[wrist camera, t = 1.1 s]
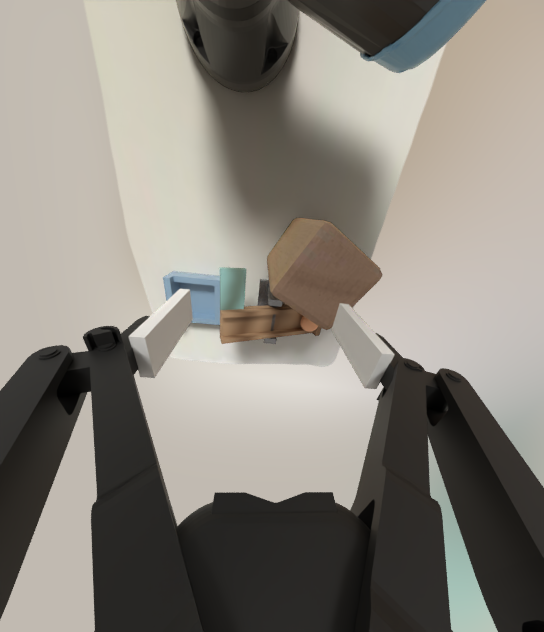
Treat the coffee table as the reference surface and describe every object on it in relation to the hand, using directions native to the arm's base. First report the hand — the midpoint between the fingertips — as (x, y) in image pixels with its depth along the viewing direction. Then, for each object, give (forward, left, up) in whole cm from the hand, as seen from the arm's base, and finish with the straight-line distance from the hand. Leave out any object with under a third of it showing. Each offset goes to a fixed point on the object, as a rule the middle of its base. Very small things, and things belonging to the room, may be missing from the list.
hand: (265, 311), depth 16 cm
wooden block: (-1, +7, -26) cm, 27 cm away
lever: (+8, +3, -19) cm, 20 cm away
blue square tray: (+11, -13, -26) cm, 31 cm away
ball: (+11, +10, -18) cm, 24 cm away
